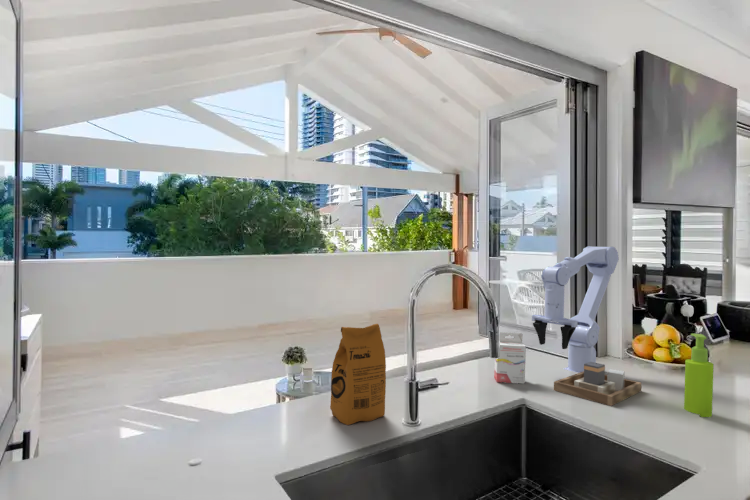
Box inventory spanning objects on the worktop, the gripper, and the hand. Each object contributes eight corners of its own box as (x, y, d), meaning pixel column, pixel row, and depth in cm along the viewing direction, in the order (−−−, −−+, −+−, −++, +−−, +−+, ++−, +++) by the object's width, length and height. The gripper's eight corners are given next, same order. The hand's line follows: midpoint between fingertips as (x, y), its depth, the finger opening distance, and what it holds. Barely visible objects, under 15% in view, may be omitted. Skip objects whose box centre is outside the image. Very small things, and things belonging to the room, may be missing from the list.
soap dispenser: (705, 409, 120) (708, 333, 120) (715, 418, 114) (718, 338, 113) (679, 406, 122) (681, 331, 122) (688, 415, 116) (690, 336, 115)
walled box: (586, 379, 145) (586, 368, 145) (641, 393, 133) (641, 381, 132) (553, 392, 132) (553, 380, 132) (611, 408, 120) (611, 394, 120)
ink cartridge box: (496, 382, 140) (497, 334, 140) (494, 378, 145) (495, 331, 145) (525, 384, 139) (526, 335, 139) (521, 379, 144) (523, 332, 144)
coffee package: (325, 413, 112) (326, 324, 112) (369, 405, 119) (371, 320, 118) (343, 428, 104) (345, 331, 103) (390, 418, 110) (391, 326, 110)
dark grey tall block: (590, 388, 134) (590, 361, 133) (604, 392, 130) (605, 364, 130) (583, 391, 131) (583, 363, 131) (597, 395, 128) (598, 366, 128)
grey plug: (608, 385, 137) (609, 369, 137) (624, 388, 135) (624, 371, 135) (606, 389, 134) (607, 372, 134) (622, 391, 131) (622, 374, 131)
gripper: (527, 302, 150) (526, 343, 150) (570, 307, 139) (569, 352, 139) (538, 300, 154) (537, 341, 154) (581, 306, 143) (580, 349, 143)
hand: (553, 346), depth 147 cm, fingers open, 7 cm apart
